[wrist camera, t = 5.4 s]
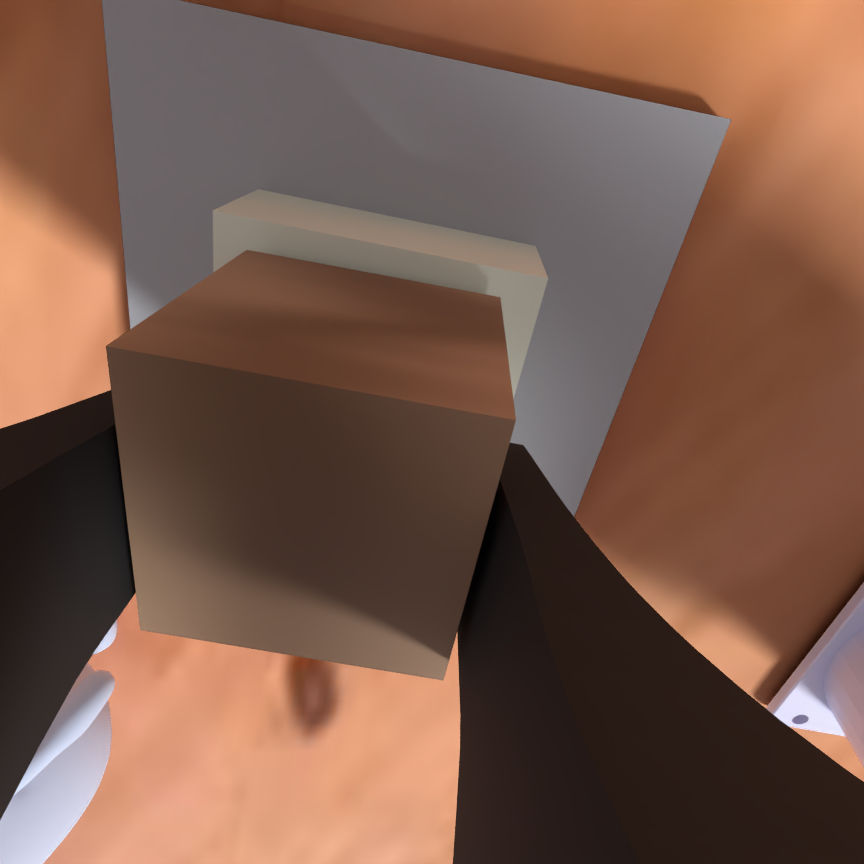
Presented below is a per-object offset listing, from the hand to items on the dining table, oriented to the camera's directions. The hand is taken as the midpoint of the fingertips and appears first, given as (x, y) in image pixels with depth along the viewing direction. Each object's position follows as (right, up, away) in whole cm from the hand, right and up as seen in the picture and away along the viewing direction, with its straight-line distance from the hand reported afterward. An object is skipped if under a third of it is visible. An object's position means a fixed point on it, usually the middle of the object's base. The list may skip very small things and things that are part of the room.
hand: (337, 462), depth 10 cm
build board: (0, +3, +5) cm, 6 cm away
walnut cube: (0, +1, +2) cm, 2 cm away
